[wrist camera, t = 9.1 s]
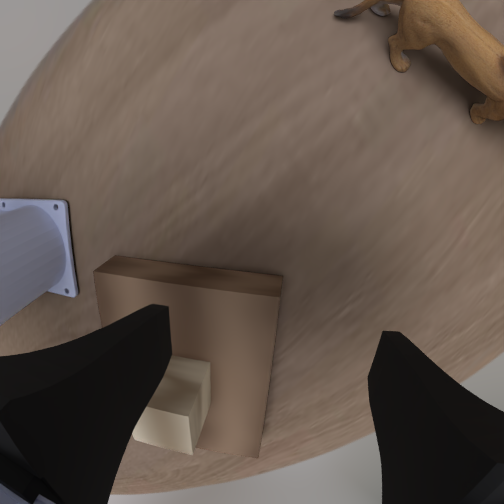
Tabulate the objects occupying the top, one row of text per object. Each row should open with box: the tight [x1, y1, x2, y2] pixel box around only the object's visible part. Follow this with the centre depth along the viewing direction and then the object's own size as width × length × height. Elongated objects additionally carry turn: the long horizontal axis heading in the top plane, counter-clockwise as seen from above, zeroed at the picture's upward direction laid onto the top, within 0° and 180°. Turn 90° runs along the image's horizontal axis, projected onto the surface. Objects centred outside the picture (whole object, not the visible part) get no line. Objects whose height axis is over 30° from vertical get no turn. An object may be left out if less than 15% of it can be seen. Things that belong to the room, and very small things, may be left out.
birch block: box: [132, 355, 211, 455], centre depth 19 cm, size 4×4×5 cm
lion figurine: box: [334, 0, 504, 124], centre depth 11 cm, size 15×5×9 cm, turn 72°
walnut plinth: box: [93, 256, 283, 458], centre depth 23 cm, size 12×16×3 cm
